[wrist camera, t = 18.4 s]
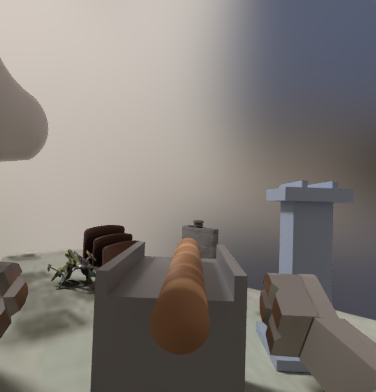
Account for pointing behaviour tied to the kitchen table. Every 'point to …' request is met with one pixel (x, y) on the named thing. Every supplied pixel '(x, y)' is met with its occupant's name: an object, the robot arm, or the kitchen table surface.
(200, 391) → the tray stand
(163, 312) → the dowel
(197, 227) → the flask
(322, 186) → the shelf post
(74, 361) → the kitchen table surface
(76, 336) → the kitchen table surface
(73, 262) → the passion flower
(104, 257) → the letter holder
